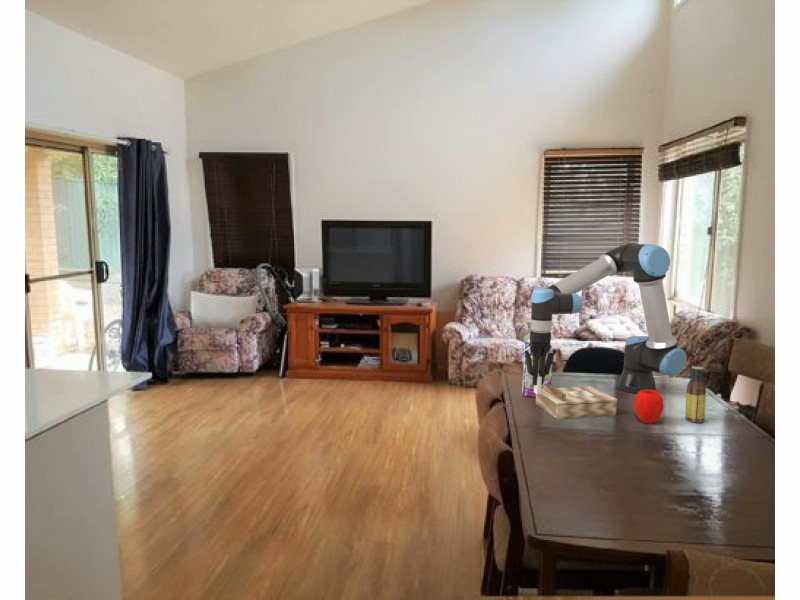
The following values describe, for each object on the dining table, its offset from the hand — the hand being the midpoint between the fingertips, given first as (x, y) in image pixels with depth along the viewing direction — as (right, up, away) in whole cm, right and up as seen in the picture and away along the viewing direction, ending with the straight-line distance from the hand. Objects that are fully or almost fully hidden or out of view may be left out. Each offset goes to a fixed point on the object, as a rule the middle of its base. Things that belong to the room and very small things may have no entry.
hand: (537, 393), depth 214 cm
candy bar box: (+4, -5, +20) cm, 21 cm away
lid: (+15, -2, +4) cm, 16 cm away
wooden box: (+15, -7, +5) cm, 17 cm away
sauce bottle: (+56, -9, -5) cm, 57 cm away
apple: (+38, -9, -7) cm, 40 cm away
